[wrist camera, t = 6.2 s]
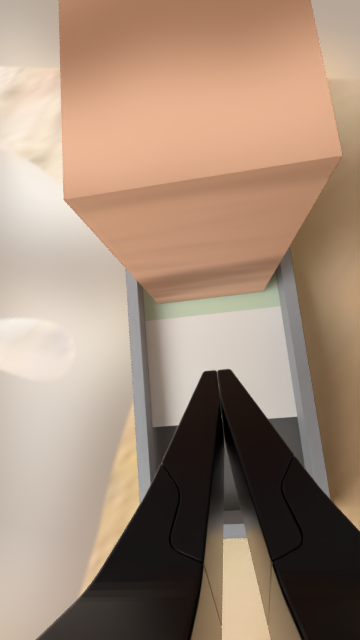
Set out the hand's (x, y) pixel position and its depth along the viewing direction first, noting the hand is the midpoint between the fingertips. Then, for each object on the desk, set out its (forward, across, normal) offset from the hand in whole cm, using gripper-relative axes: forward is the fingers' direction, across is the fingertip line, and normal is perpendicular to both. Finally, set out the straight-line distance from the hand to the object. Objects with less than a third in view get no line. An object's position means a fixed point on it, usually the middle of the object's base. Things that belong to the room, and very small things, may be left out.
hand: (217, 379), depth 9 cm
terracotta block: (+11, 0, 0) cm, 11 cm away
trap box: (+8, 0, +3) cm, 9 cm away
